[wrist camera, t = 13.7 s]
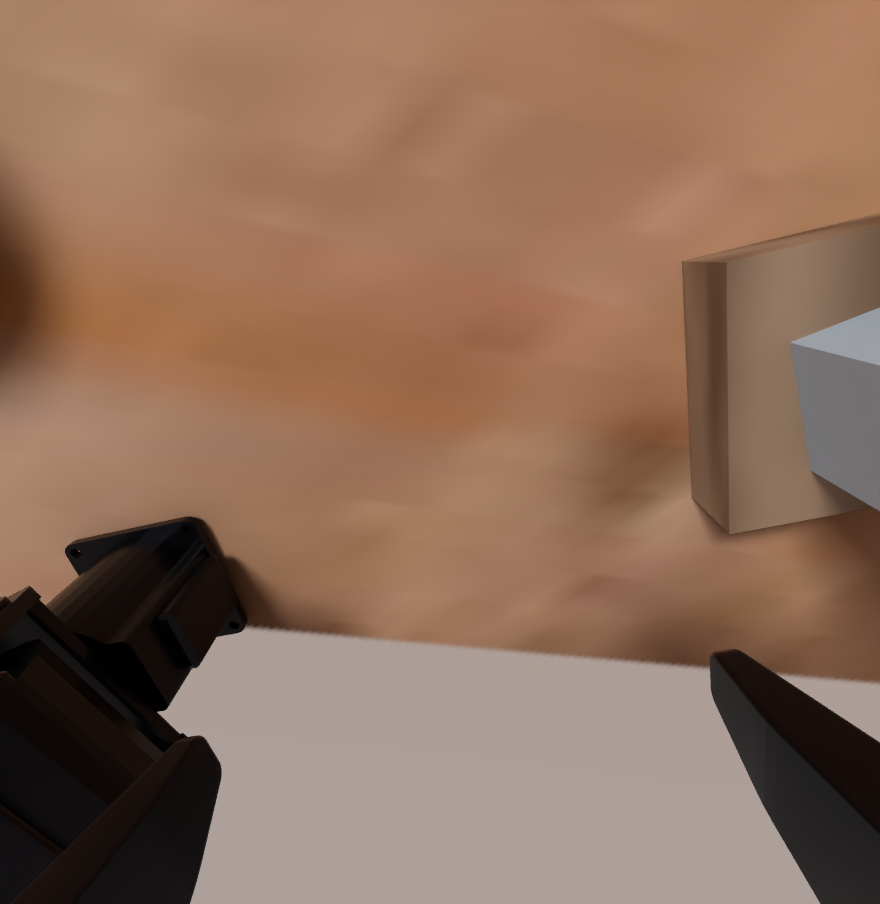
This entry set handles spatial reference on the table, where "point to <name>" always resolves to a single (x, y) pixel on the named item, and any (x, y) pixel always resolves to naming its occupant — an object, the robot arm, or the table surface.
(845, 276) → the walnut block
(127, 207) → the table surface
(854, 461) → the slate block
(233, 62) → the table surface
